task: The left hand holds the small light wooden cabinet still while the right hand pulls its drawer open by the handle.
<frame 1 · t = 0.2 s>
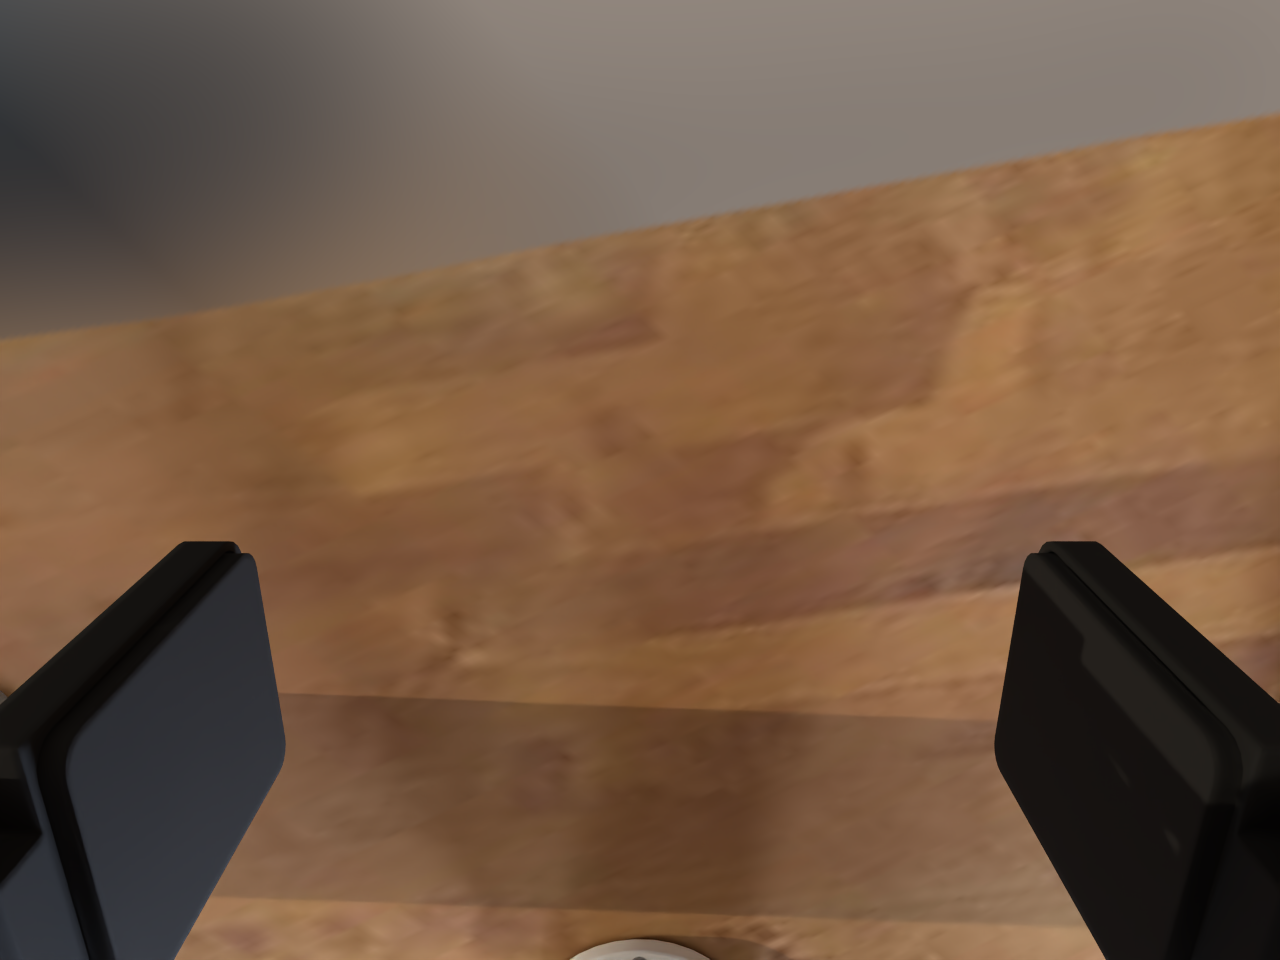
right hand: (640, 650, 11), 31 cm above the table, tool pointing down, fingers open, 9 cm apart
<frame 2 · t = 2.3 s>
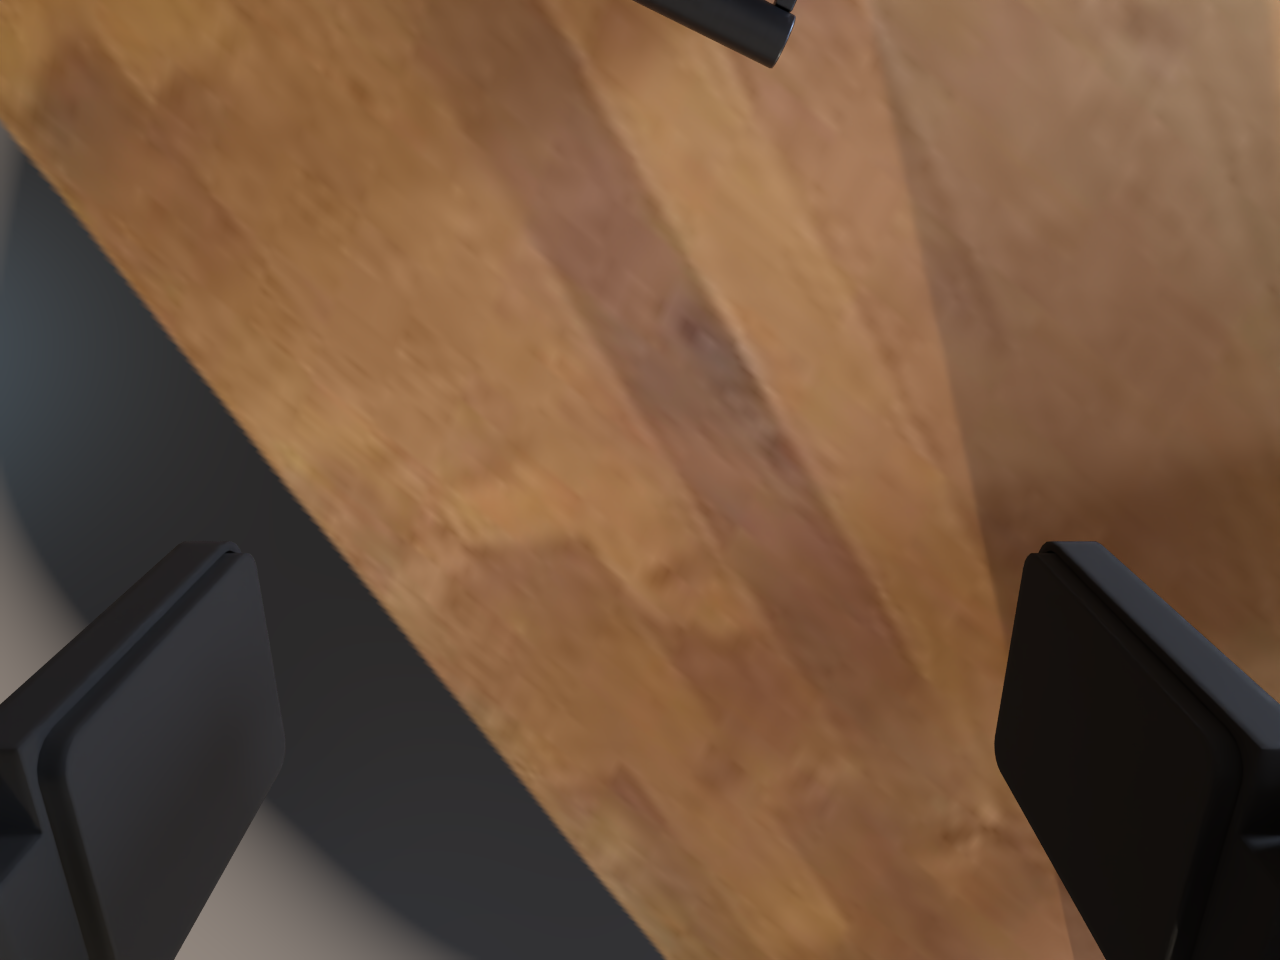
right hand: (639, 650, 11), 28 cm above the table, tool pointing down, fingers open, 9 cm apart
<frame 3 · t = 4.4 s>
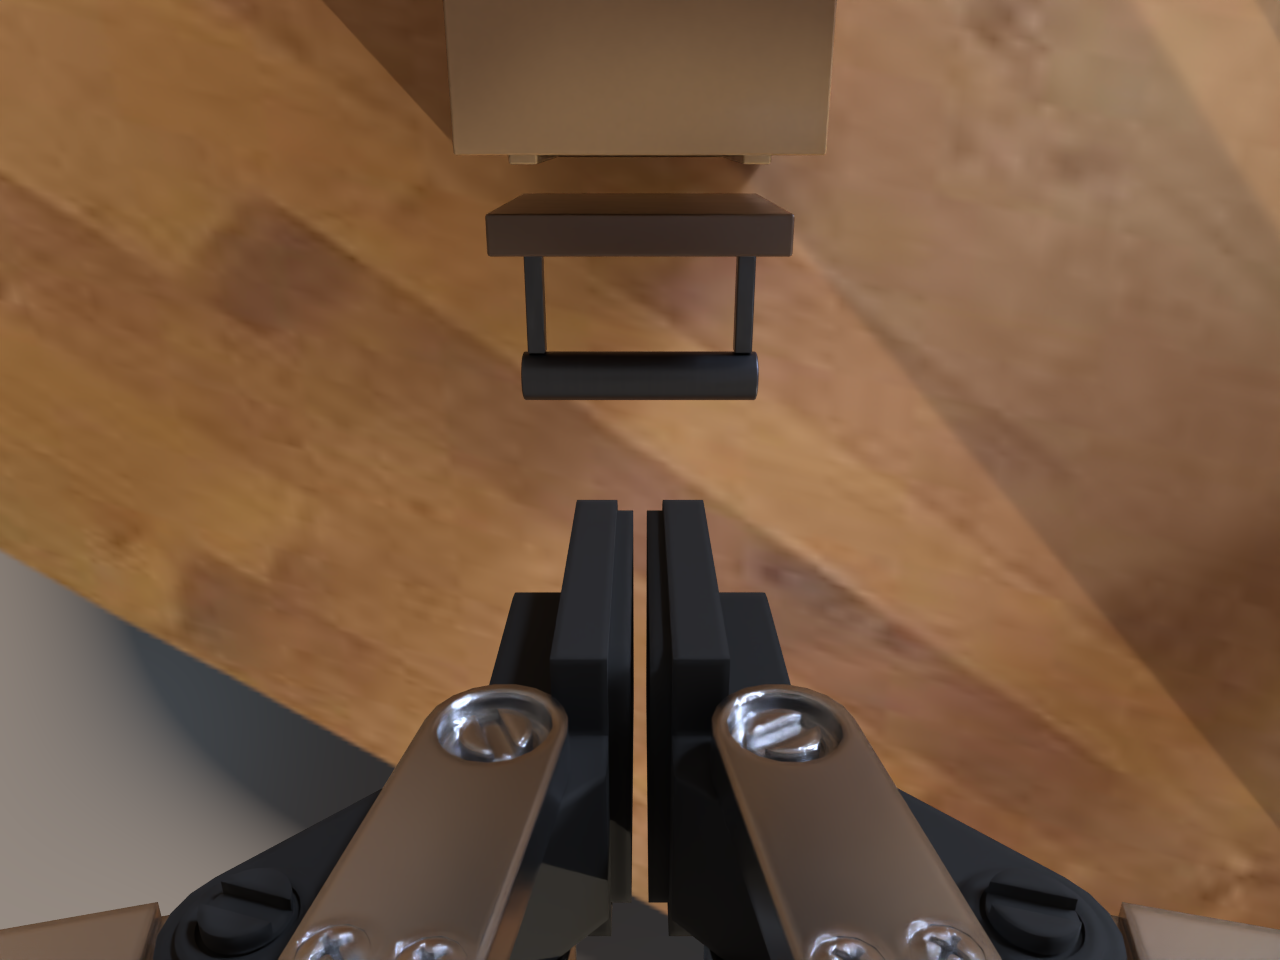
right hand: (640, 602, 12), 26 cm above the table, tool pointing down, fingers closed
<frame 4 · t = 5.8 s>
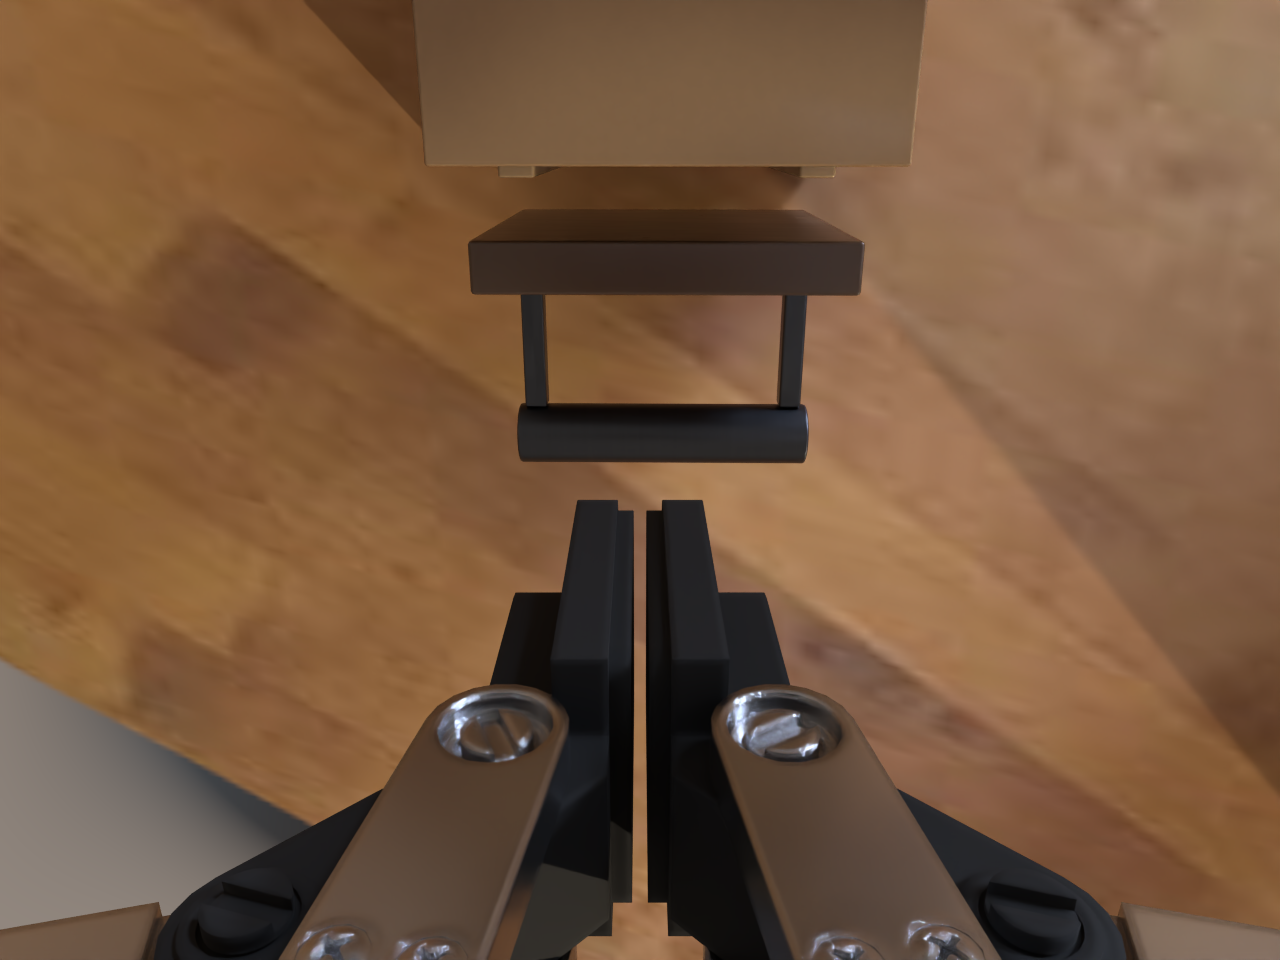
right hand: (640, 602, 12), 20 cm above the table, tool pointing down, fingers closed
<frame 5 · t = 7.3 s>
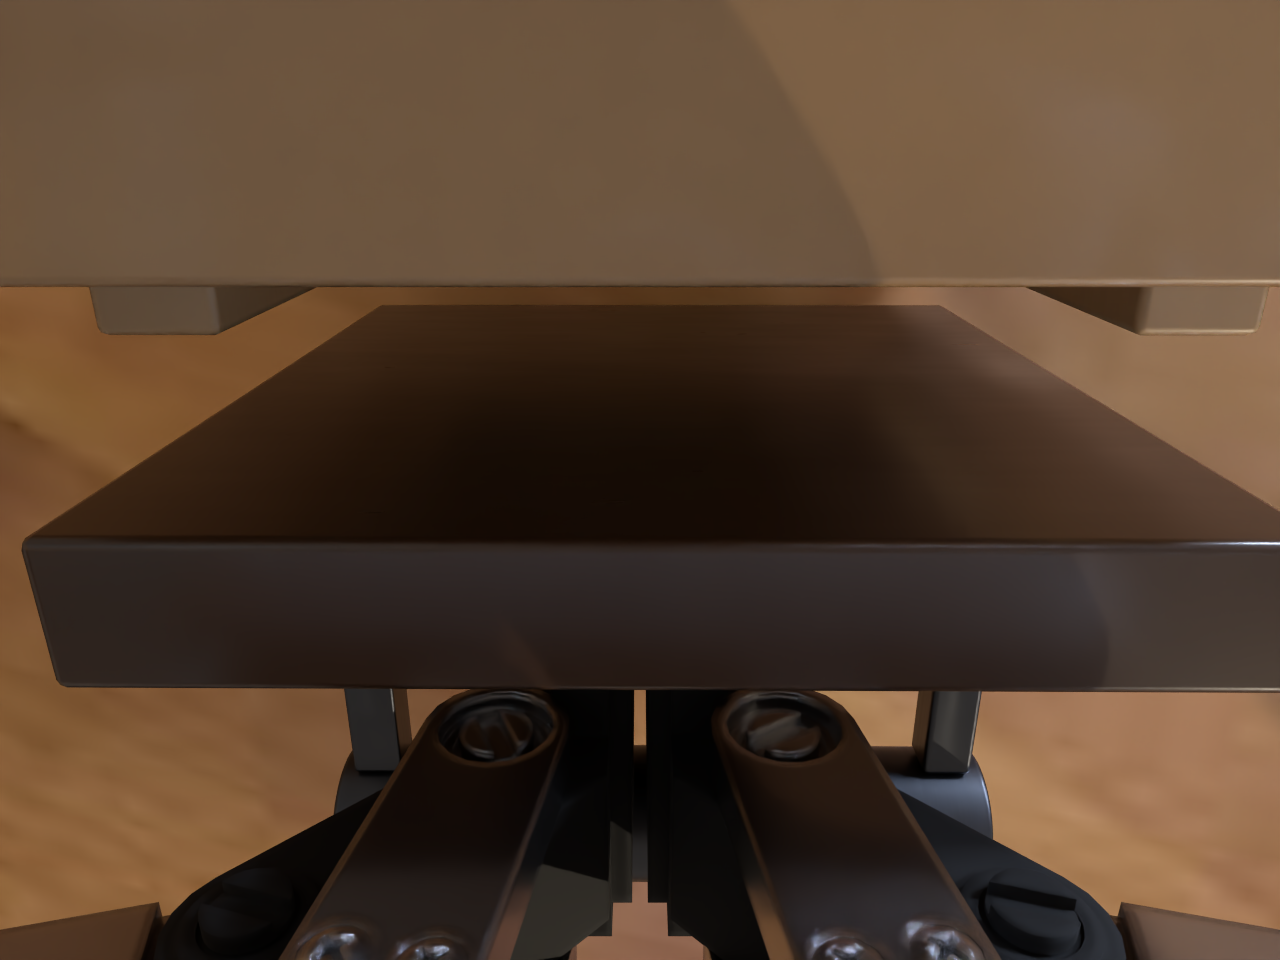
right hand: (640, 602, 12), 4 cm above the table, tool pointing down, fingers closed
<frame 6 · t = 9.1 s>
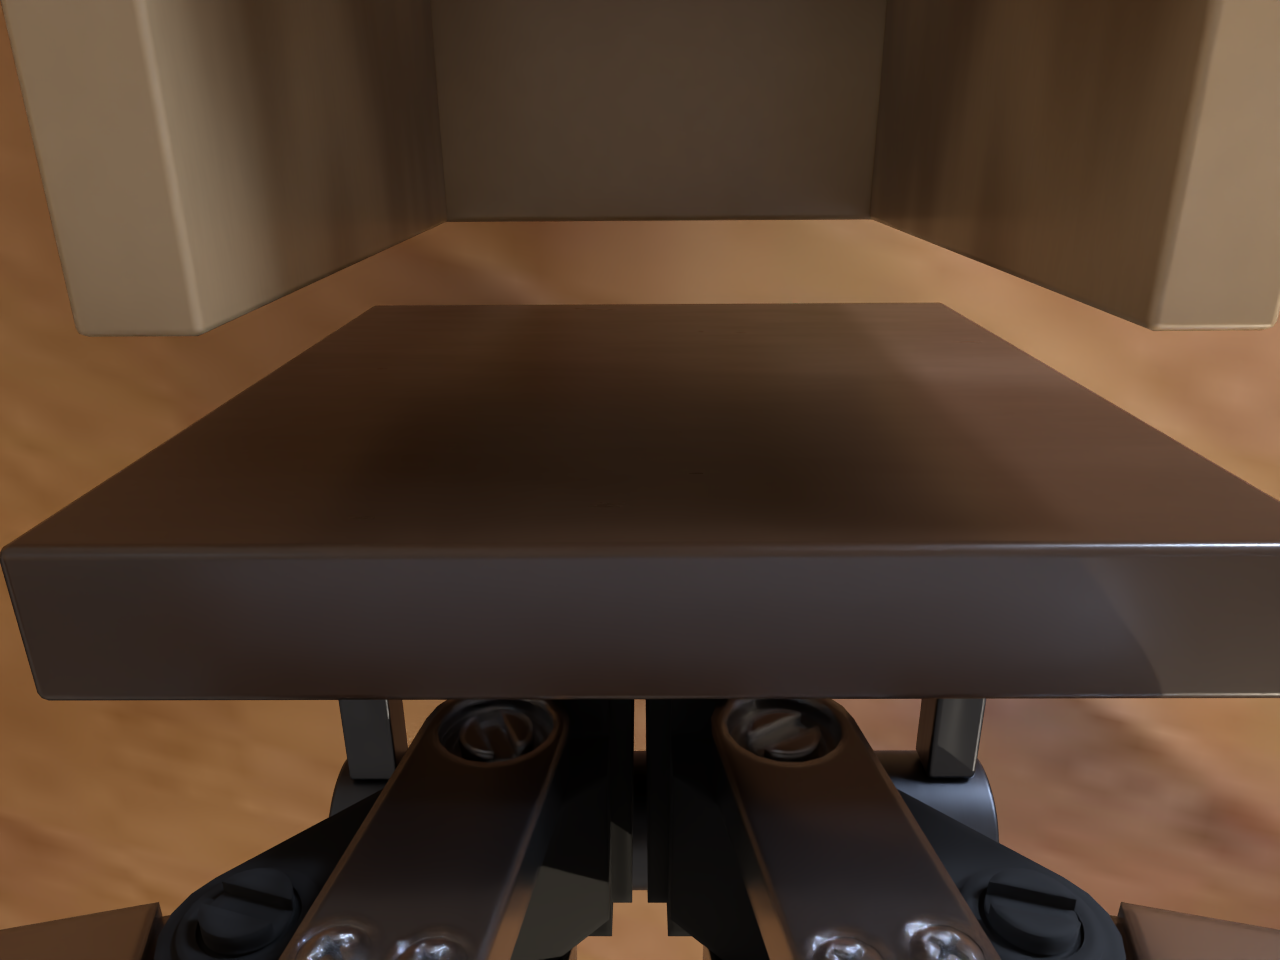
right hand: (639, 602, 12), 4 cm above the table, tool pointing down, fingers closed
when the left hand's fingers open (6 cm above the table, at t = 10.8 s): cabinet stays where it is, on the table.
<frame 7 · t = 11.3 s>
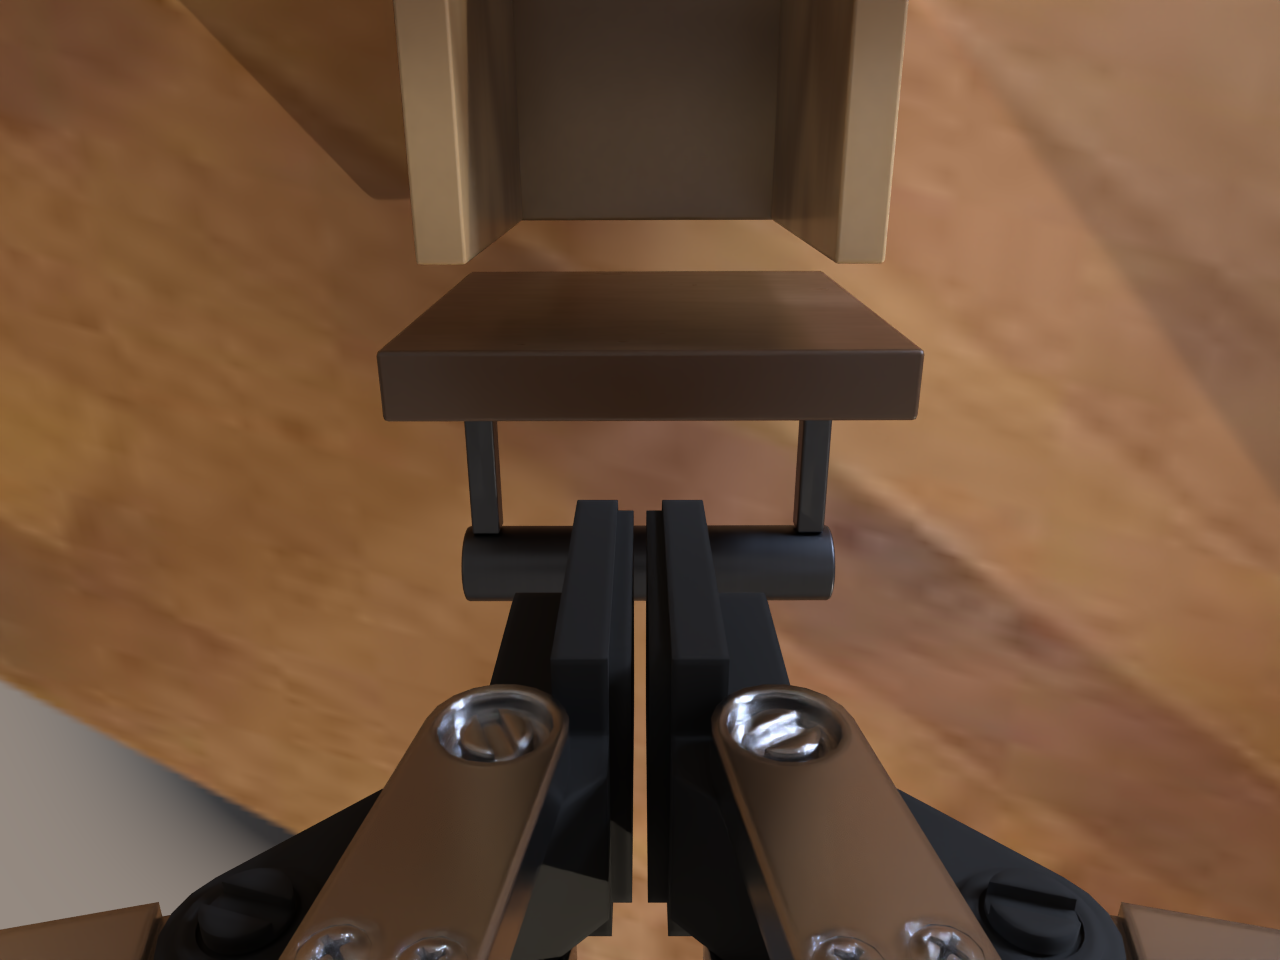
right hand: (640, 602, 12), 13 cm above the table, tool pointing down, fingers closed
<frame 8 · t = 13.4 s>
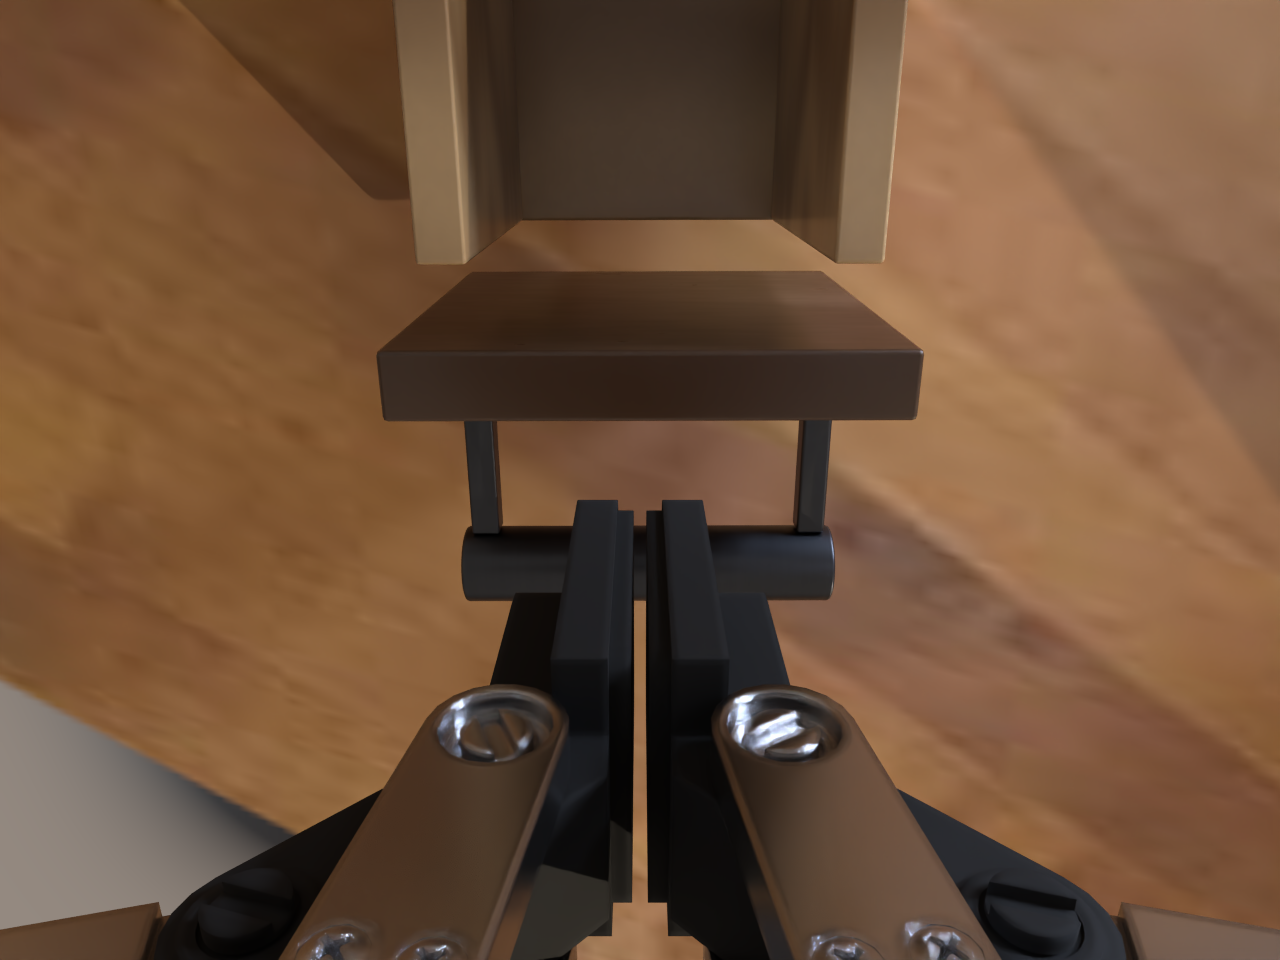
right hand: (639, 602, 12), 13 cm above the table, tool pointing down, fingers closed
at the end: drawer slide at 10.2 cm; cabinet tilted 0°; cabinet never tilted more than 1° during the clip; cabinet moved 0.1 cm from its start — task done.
